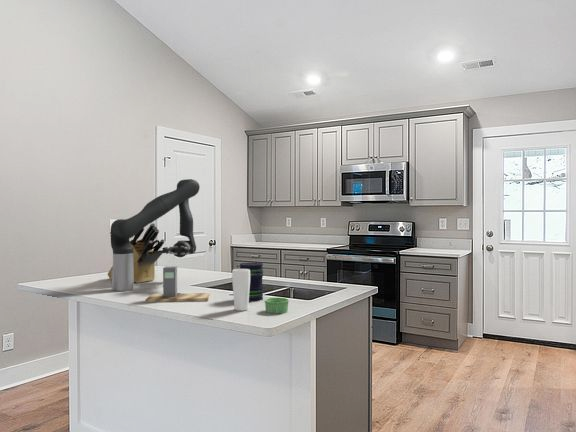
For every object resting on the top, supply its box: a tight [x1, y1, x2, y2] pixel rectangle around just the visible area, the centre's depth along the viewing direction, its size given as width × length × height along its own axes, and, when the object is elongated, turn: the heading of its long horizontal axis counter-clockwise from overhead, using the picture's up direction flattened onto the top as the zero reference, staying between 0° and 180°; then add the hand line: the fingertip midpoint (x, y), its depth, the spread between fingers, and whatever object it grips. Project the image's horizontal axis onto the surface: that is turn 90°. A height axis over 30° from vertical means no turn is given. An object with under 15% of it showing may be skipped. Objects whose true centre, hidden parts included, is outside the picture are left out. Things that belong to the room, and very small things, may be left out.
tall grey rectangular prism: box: [162, 266, 178, 297], centre depth 192 cm, size 5×5×12 cm
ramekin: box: [264, 297, 290, 314], centre depth 169 cm, size 9×9×4 cm
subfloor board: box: [145, 292, 211, 303], centre depth 193 cm, size 25×12×1 cm, turn 95°
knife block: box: [107, 222, 165, 284], centre depth 243 cm, size 11×35×31 cm, turn 56°
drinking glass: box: [231, 268, 250, 312], centre depth 171 cm, size 7×7×15 cm
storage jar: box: [239, 262, 264, 302], centre depth 192 cm, size 10×10×15 cm
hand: (176, 251), depth 210 cm, fingers open, 8 cm apart
